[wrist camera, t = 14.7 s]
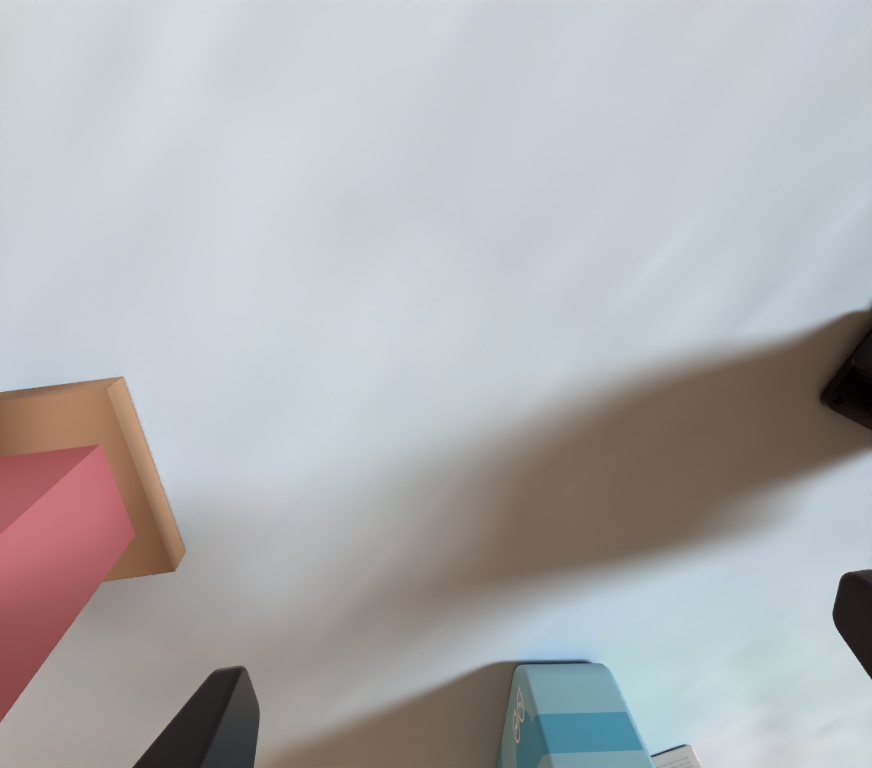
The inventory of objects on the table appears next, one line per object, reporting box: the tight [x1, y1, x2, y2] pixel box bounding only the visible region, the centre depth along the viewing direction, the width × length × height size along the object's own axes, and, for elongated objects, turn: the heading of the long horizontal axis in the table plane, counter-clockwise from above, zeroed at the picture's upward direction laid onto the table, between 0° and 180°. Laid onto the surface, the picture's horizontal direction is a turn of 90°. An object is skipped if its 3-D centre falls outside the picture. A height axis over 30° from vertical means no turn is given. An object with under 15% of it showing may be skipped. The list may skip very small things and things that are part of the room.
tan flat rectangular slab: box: [0, 377, 186, 582], centre depth 20 cm, size 10×8×1 cm
